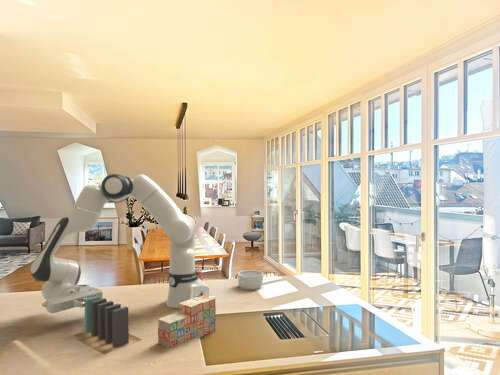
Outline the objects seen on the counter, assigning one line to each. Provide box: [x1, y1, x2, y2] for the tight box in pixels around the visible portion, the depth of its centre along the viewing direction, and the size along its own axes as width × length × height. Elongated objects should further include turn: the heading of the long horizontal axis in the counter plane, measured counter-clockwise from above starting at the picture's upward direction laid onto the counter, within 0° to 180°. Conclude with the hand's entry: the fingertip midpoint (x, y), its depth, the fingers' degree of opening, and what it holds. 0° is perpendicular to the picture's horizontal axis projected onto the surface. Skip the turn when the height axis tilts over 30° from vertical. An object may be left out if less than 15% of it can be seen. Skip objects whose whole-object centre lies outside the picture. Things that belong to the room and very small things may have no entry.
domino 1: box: [84, 296, 100, 334], centre depth 140 cm, size 5×2×12 cm, turn 141°
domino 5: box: [112, 306, 130, 348], centre depth 128 cm, size 5×2×12 cm, turn 140°
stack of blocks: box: [157, 295, 217, 349], centre depth 136 cm, size 21×6×12 cm, turn 141°
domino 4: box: [105, 303, 122, 344], centre depth 131 cm, size 5×2×12 cm, turn 140°
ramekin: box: [237, 269, 264, 291], centre depth 198 cm, size 13×13×7 cm
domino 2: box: [91, 297, 108, 337], centre depth 137 cm, size 5×2×12 cm, turn 140°
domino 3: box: [98, 300, 115, 340], centre depth 134 cm, size 5×2×12 cm, turn 140°
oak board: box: [70, 330, 143, 355], centre depth 134 cm, size 14×22×1 cm, turn 50°
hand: (85, 304), depth 143 cm, fingers closed
